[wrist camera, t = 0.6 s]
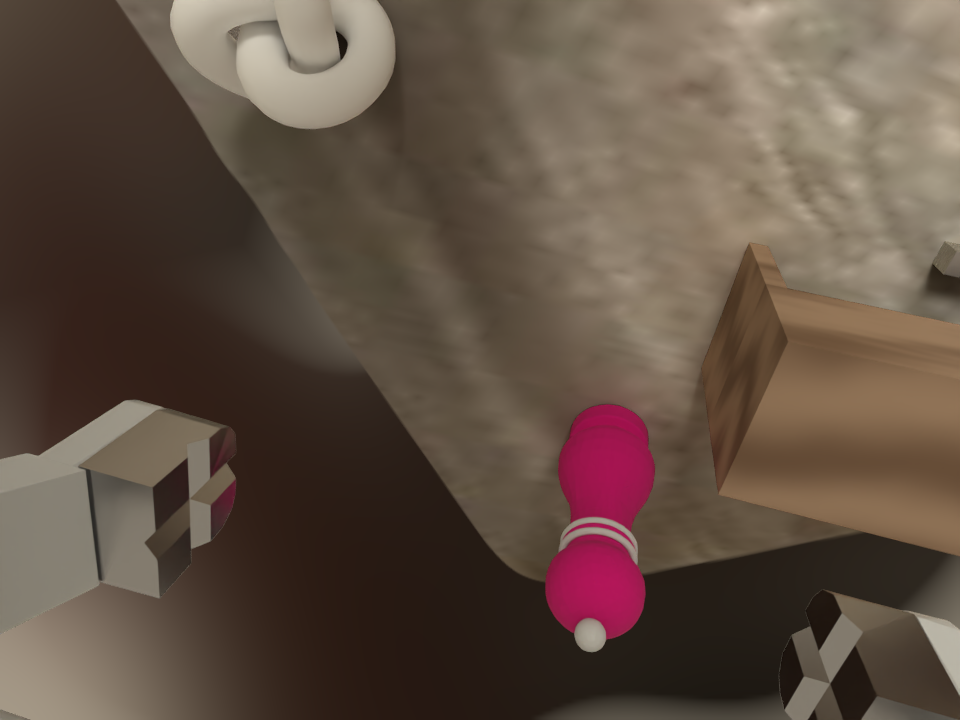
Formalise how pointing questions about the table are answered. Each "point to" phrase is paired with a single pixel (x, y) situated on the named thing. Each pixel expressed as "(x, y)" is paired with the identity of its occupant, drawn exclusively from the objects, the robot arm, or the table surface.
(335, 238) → the table surface
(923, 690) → the robot arm
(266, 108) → the white knot
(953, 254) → the block
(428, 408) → the table surface
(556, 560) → the pepper mill
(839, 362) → the wooden bench
